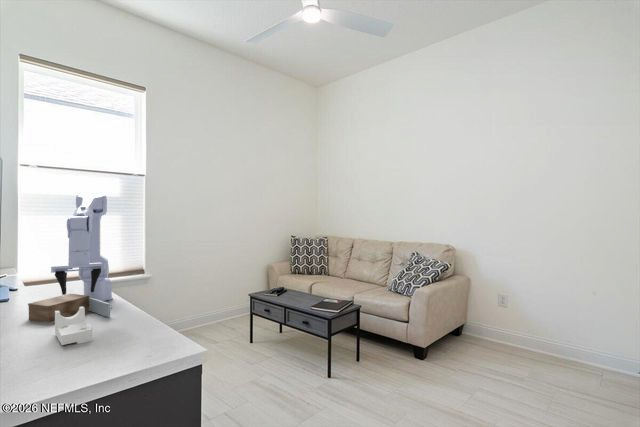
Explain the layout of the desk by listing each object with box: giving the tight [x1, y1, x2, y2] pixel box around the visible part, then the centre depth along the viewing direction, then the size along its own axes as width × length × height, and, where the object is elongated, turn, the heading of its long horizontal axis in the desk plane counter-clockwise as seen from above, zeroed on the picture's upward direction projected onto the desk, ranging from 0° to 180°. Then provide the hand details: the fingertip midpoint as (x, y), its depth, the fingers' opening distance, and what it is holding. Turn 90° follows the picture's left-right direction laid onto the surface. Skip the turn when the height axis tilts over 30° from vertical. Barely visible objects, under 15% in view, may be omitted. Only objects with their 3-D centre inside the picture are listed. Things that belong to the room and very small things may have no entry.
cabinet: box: [27, 293, 90, 324], centre depth 123 cm, size 14×10×6 cm
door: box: [89, 298, 113, 318], centre depth 124 cm, size 14×2×5 cm, turn 56°
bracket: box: [54, 306, 93, 346], centre depth 101 cm, size 13×7×8 cm, turn 44°
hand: (78, 293), depth 113 cm, fingers open, 7 cm apart
